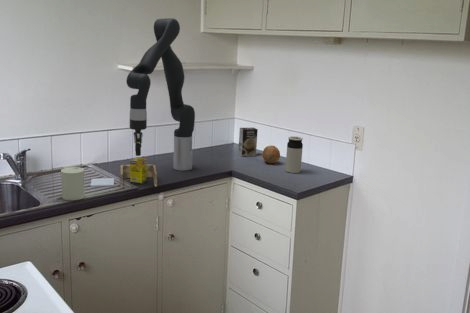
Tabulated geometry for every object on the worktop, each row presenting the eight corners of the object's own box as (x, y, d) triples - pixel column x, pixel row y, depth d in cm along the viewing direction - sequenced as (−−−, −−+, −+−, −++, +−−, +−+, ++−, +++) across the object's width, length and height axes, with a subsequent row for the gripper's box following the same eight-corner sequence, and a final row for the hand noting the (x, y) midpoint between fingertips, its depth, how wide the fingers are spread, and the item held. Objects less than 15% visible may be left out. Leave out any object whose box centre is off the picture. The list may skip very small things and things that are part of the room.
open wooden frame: (154, 176, 234) (154, 164, 232) (157, 186, 219) (157, 173, 217) (120, 177, 230) (120, 165, 228) (120, 187, 215) (120, 174, 214)
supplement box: (142, 184, 220) (142, 161, 218) (129, 183, 221) (129, 160, 219) (147, 181, 226) (147, 158, 223) (134, 179, 227) (134, 157, 224)
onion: (278, 161, 274) (279, 143, 271) (280, 165, 264) (281, 148, 261) (261, 160, 273) (262, 143, 271) (262, 165, 263) (263, 147, 261)
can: (89, 194, 204) (88, 167, 201) (77, 201, 195) (76, 172, 192) (69, 192, 206) (68, 164, 203) (57, 198, 197) (55, 170, 194)
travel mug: (294, 174, 249) (297, 140, 244) (282, 171, 254) (284, 137, 249) (303, 171, 254) (306, 138, 250) (291, 168, 259) (293, 135, 255)
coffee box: (241, 157, 279) (243, 129, 275) (237, 154, 285) (239, 127, 281) (256, 156, 282) (258, 129, 278) (252, 153, 288) (253, 127, 284)
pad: (114, 179, 226) (114, 178, 226) (113, 186, 217) (113, 184, 216) (91, 180, 224) (91, 178, 224) (90, 186, 214) (90, 185, 214)
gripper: (147, 121, 211) (146, 157, 214) (146, 115, 224) (145, 149, 228) (129, 120, 209) (129, 157, 213) (129, 115, 222) (129, 149, 226)
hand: (137, 153), depth 220 cm, fingers open, 8 cm apart
